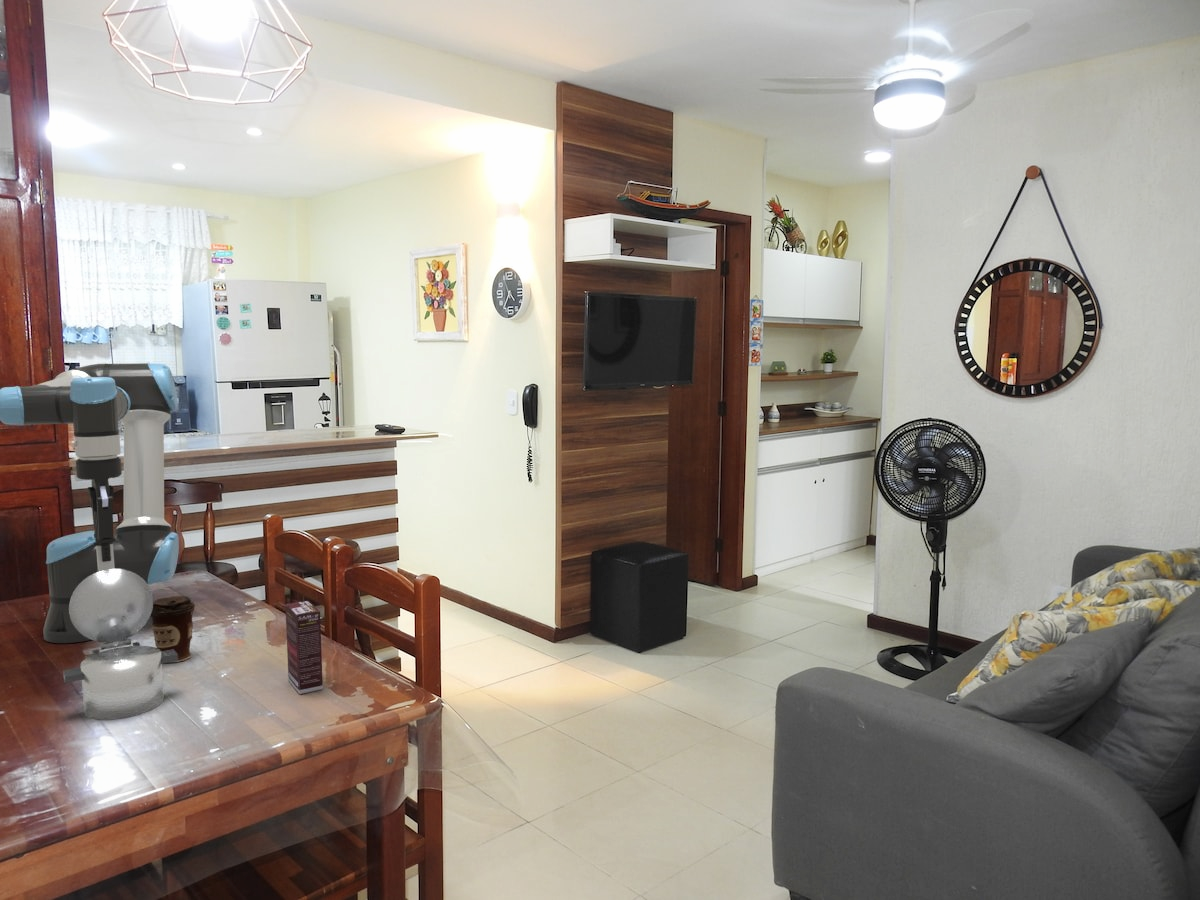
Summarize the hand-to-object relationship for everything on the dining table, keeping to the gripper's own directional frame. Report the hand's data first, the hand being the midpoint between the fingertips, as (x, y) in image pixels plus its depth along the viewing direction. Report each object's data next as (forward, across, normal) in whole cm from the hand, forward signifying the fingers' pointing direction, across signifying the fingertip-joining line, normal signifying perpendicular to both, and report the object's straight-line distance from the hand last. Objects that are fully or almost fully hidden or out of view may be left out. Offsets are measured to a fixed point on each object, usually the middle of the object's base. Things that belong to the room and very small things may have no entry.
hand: (106, 576), depth 165 cm
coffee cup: (+22, -7, +12) cm, 26 cm away
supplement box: (+22, +24, +30) cm, 44 cm away
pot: (+22, +13, 0) cm, 25 cm away
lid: (+5, +5, 0) cm, 7 cm away
